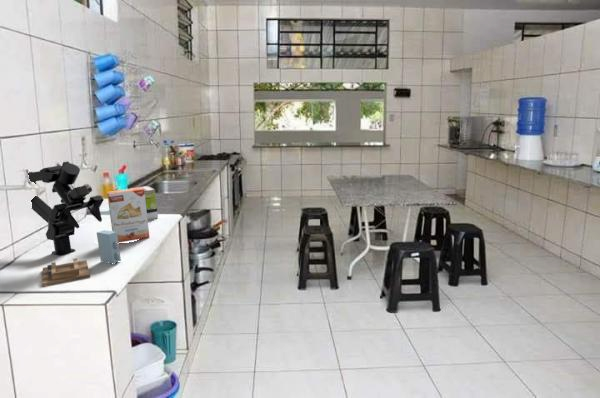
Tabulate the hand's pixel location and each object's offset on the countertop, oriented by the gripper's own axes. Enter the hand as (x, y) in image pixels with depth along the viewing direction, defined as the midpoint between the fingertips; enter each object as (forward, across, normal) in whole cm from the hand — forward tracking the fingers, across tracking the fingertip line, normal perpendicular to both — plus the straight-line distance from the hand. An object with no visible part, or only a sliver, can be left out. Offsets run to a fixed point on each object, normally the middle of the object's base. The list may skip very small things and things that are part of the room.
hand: (90, 224), depth 174 cm
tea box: (-16, +53, +34) cm, 65 cm away
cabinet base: (+13, -15, +6) cm, 20 cm away
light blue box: (+16, 0, +3) cm, 16 cm away
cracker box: (+3, +23, +15) cm, 28 cm away
